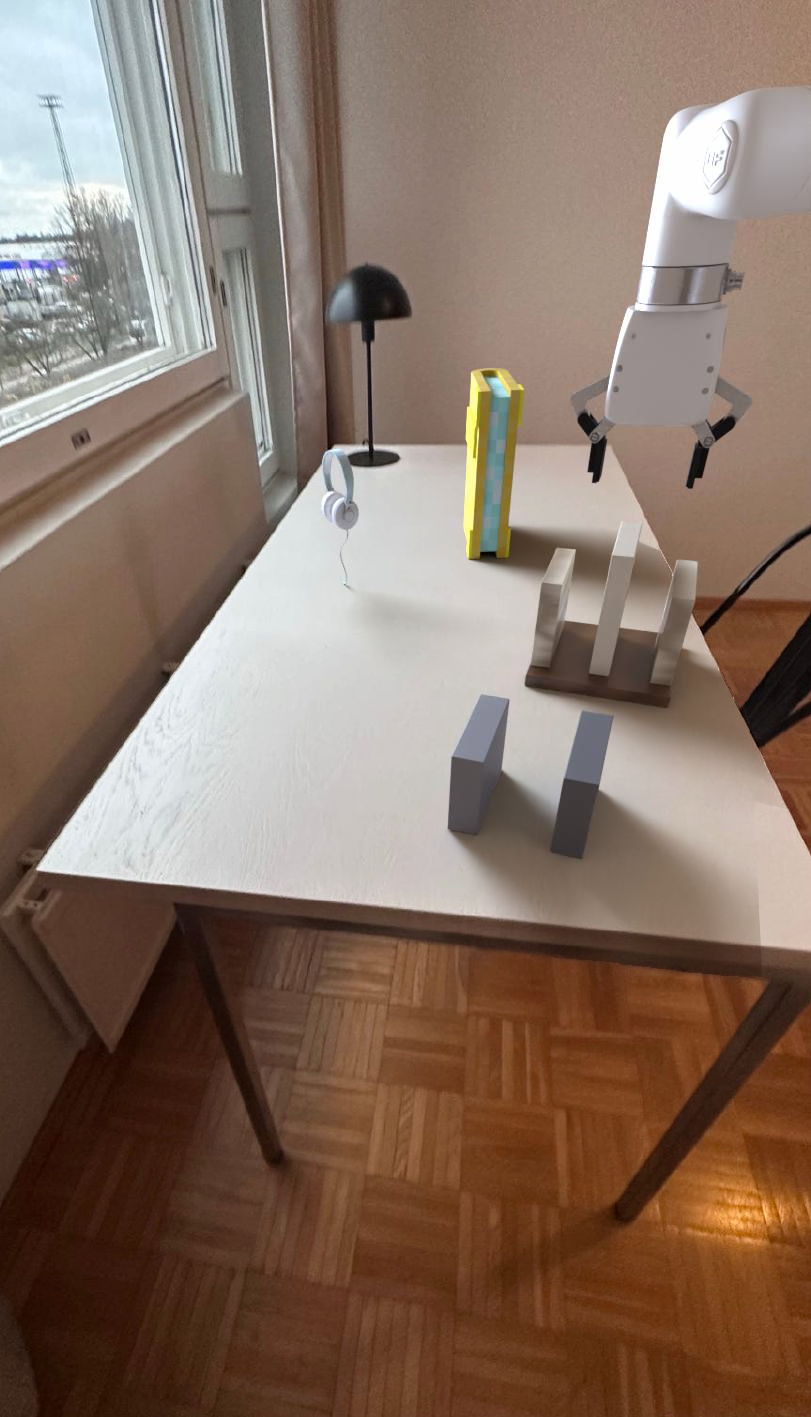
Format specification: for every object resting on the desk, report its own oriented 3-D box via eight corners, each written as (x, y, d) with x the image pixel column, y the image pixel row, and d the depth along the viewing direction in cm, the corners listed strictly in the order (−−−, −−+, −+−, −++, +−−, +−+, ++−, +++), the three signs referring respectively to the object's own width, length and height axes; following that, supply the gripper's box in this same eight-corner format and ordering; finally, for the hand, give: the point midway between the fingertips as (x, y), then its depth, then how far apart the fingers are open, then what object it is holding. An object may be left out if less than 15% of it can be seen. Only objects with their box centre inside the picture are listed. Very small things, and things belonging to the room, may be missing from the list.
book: (508, 557, 119) (524, 389, 103) (468, 559, 120) (477, 391, 103) (495, 521, 132) (508, 367, 116) (459, 523, 132) (467, 369, 116)
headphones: (366, 590, 112) (361, 454, 99) (344, 596, 111) (336, 459, 98) (343, 572, 118) (336, 441, 105) (322, 577, 116) (311, 446, 103)
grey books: (596, 787, 74) (613, 715, 68) (582, 859, 66) (599, 785, 60) (474, 763, 77) (480, 693, 72) (447, 828, 70) (451, 756, 64)
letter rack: (674, 644, 95) (699, 553, 87) (667, 707, 84) (695, 610, 76) (546, 628, 100) (559, 540, 92) (524, 685, 89) (536, 591, 81)
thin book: (618, 635, 95) (642, 522, 85) (608, 676, 87) (634, 557, 77) (599, 633, 95) (621, 520, 85) (588, 673, 88) (611, 555, 78)
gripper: (781, 282, 66) (728, 477, 77) (590, 287, 71) (566, 468, 82) (786, 291, 61) (728, 498, 72) (579, 295, 66) (555, 487, 77)
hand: (642, 482), depth 77 cm, fingers open, 9 cm apart
